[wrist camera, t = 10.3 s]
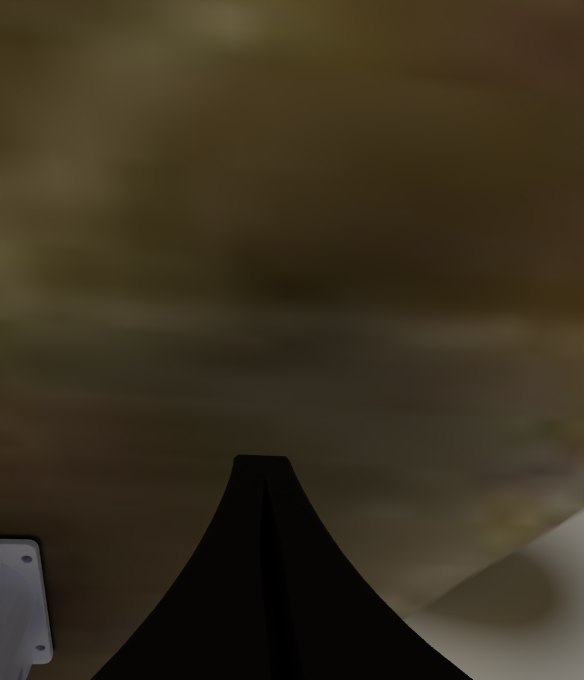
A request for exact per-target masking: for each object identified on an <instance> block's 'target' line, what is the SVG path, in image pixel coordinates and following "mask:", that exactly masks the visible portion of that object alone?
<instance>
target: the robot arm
mask: <svg viewBox="0 0 584 680" xmlns="http://www.w3.org/2000/svg"><path fill="white" fill-rule="evenodd" d="M29 556H30V557H29ZM52 656H53V646H52V639H51V632H50V624H49V617H48V610H47V603H46V595H45V588H44V581H43V573H42V566H41V559H40V552H39V546H38V544H37V543H36V542H35V541H33V540H29V539H0V680H26V679H27V676H28V674H29V671H30V668H31V666H32V664H46V663H48V662H50V661H51V659H52ZM91 680H473V679H472V678H470V677H469V676H468V675H466V674H465V673H464V672H463V671H461V670H460V669H459V668H458V667H456V666H455V665H454V664H453V663H451V662H450V661H449V660H448V659H446V658H445V657H444V656H442V655H441V654H440V653H439V652H438V651H436V650H435V649H434V648H433V647H431V646H430V645H429V644H428V643H426V641H425V640H423V639H422V638H421V637H420V636H419V635H418V634H417V633H416V632H415V631H413V630H412V629H411V628H410V627H409V626H408V625H407V624H406V623H405V622H404V621H403V620H402V619H401V618H400V617H399V616H398V615H397V614H396V613H395V612H394V611H393V610H392V609H391V608H390V607H389V606H388V605H387V604H386V603H385V602H384V601H383V600H382V599H381V598H380V597H379V596H378V595H377V594H376V592H375V591H374V590H373V589H372V588H371V587H370V586H369V584H368V583H367V582H366V581H365V580H364V579H363V578H362V576H361V575H360V574H359V573H358V571H357V570H356V569H355V568H354V566H353V565H352V564H351V563H350V562H349V560H348V559H347V558H346V556H345V555H344V554H343V552H342V551H341V550H340V548H339V547H338V545H337V544H336V543H335V541H334V540H333V538H332V537H331V535H330V534H329V532H328V531H327V529H326V528H325V526H324V525H323V523H322V522H321V520H320V518H319V517H318V515H317V513H316V512H315V510H314V508H313V507H312V505H311V503H310V502H309V500H308V498H307V496H306V494H305V492H304V491H303V489H302V487H301V485H300V483H299V481H298V479H297V477H296V475H295V472H294V470H293V468H292V466H291V463H290V460H289V459H288V458H287V457H285V456H259V455H238V456H236V457H235V458H234V462H233V468H232V472H231V476H230V479H229V482H228V485H227V487H226V490H225V493H224V495H223V497H222V499H221V502H220V504H219V506H218V509H217V511H216V513H215V515H214V517H213V519H212V521H211V523H210V525H209V526H208V528H207V530H206V532H205V534H204V536H203V538H202V540H201V541H200V543H199V545H198V546H197V548H196V550H195V551H194V553H193V555H192V556H191V558H190V559H189V561H188V563H187V564H186V566H185V567H184V569H183V570H182V572H181V573H180V575H179V576H178V577H177V579H176V580H175V582H174V583H173V584H172V586H171V587H170V589H169V590H168V591H167V593H166V594H165V596H164V597H163V598H162V600H161V601H160V602H159V603H158V605H157V606H156V607H155V609H154V610H153V611H152V612H151V613H150V615H149V616H148V617H147V618H146V619H145V621H144V622H143V623H142V624H141V625H140V626H139V628H138V629H137V630H136V631H135V632H134V634H133V635H132V636H131V637H130V638H129V640H128V641H127V642H126V643H125V644H124V645H123V646H122V647H121V648H120V650H119V651H118V652H117V653H116V654H115V655H114V656H113V657H112V658H111V659H110V660H109V661H108V662H107V663H106V664H105V665H104V666H103V667H102V668H101V669H100V670H99V671H98V672H97V673H96V674H95V675H94V676H93V677H92V679H91Z"/></svg>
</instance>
